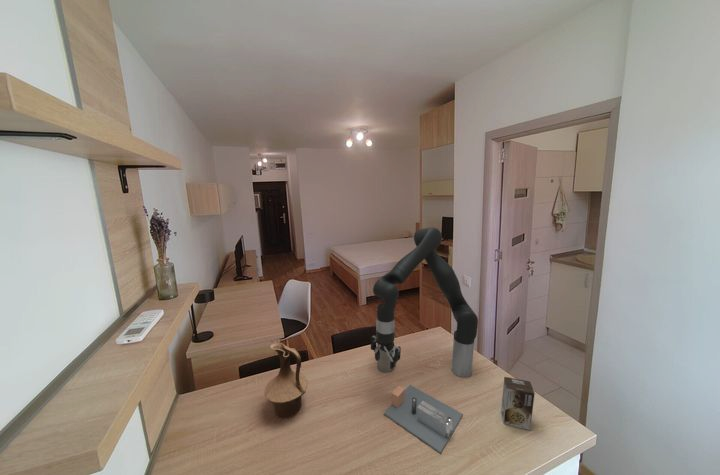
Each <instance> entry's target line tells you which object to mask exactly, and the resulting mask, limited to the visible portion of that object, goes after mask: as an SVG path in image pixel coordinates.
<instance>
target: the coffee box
mask: <svg viewBox="0 0 720 475" xmlns="http://www.w3.org/2000/svg"><path fill="white" fill-rule="evenodd" d="M501 398H502V399H501V408H500V414H501V418H502V419H501V420H502V424H503V425H506V426H511V427H515V428H518V429H519V428H520V429H523V430H528V431H531V427H532V419H533V418H532V416H533V409H534V400H535V390H534V388H533V385H532V383H531V381H529V380H523V379H519V378H514V377H513V378H512V377H508V376H504V379H503V387H502V397H501Z"/></svg>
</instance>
